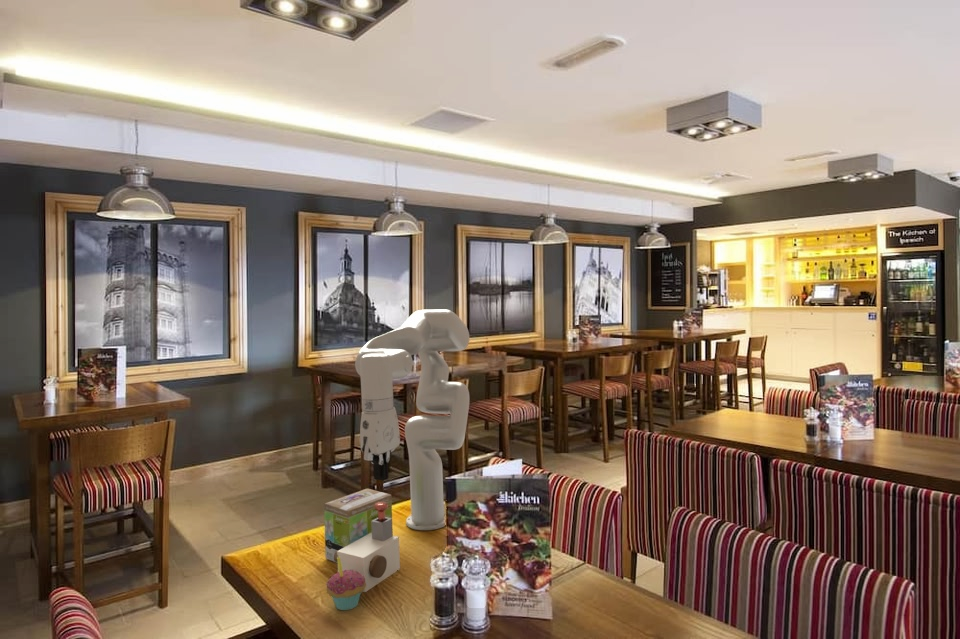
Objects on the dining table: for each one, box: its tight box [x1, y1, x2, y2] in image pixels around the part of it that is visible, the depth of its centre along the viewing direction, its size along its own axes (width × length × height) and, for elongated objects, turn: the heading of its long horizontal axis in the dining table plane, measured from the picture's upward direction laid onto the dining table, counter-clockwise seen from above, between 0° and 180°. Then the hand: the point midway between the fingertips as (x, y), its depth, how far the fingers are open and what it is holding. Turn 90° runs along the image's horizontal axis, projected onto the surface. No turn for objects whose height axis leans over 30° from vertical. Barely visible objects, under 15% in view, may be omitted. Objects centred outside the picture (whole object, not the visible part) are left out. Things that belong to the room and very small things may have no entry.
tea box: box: [323, 487, 393, 564], centre depth 160 cm, size 15×10×15 cm, turn 143°
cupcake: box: [325, 554, 366, 611], centre depth 134 cm, size 9×8×12 cm
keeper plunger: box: [374, 502, 388, 522], centre depth 150 cm, size 3×3×5 cm
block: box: [337, 517, 401, 593], centre depth 147 cm, size 13×8×12 cm, turn 150°
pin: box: [334, 551, 387, 578], centre depth 146 cm, size 13×5×5 cm, turn 60°
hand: (381, 478), depth 150 cm, fingers closed
